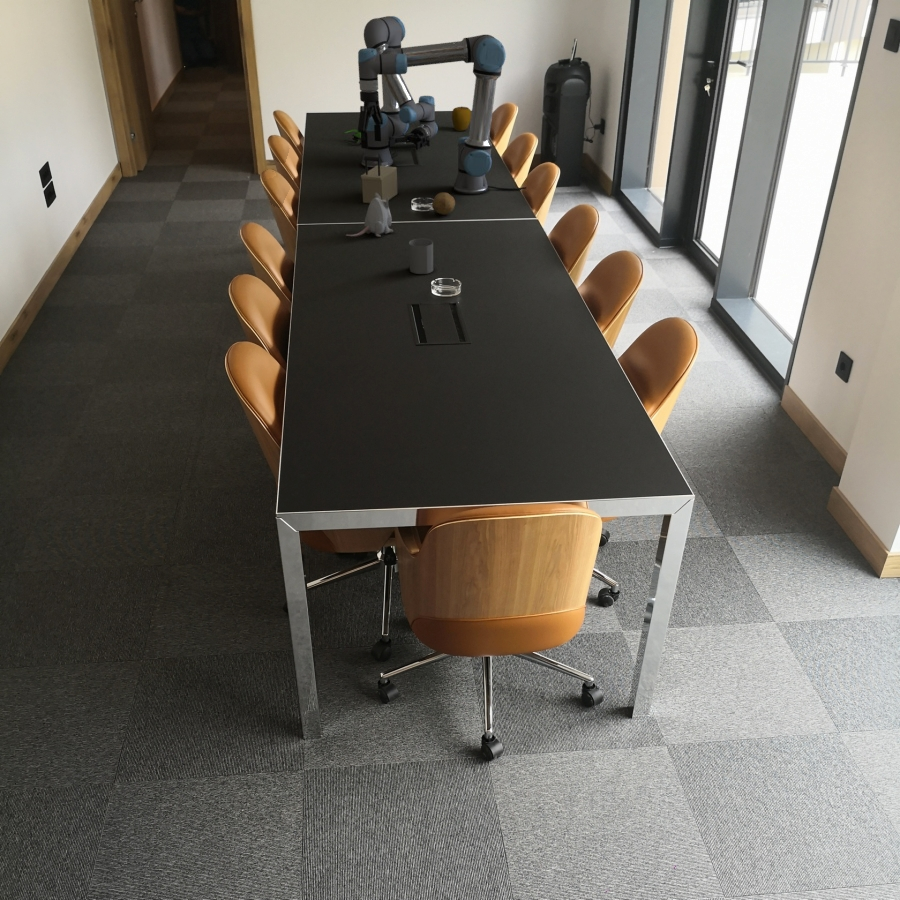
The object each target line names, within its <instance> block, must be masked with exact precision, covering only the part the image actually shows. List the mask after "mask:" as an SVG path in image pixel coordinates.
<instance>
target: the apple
mask: <svg viewBox="0 0 900 900" xmlns="http://www.w3.org/2000/svg"><path fill="white" fill-rule="evenodd" d="M471 115H472V110H471V108H469V107H467V106H462V105H461V106H457V107H454V108H452V111H451V121H452V125H453V128H454V129H455V131H457V132H463V131H466V130H467V129H468V128H469V127H470V123H471Z"/></svg>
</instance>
